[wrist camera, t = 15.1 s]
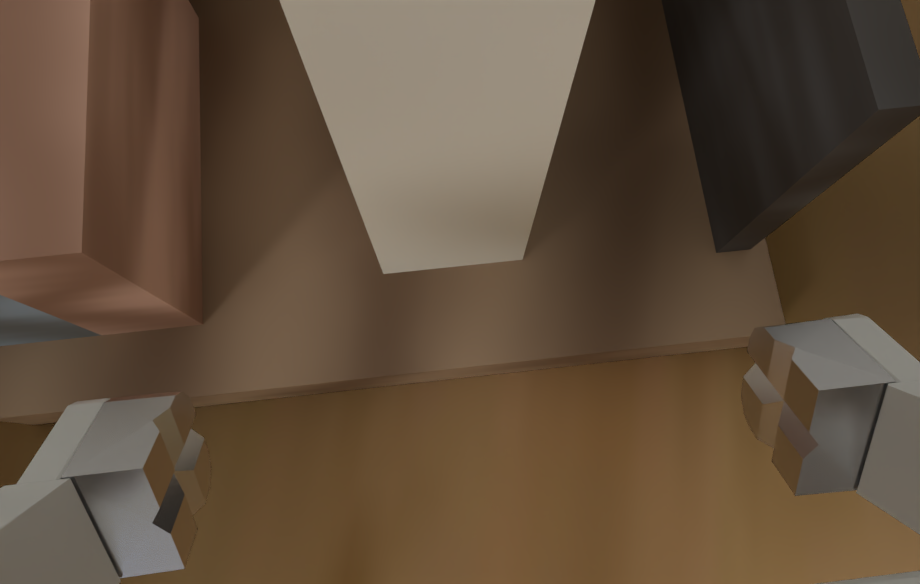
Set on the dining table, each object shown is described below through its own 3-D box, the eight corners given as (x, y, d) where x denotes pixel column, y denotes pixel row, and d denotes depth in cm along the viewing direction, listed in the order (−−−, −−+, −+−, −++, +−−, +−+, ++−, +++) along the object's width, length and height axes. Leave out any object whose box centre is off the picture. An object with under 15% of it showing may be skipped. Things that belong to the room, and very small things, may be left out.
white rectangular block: (383, 274, 20) (273, -17, 8) (363, 31, 22) (252, -475, 10) (522, 259, 20) (609, -48, 8) (489, 20, 22) (520, -494, 10)
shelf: (32, 424, 21) (-346, 378, 11) (52, 21, 24) (-218, -282, 15) (757, 345, 21) (1006, 234, 12) (672, -37, 25) (806, -365, 15)
